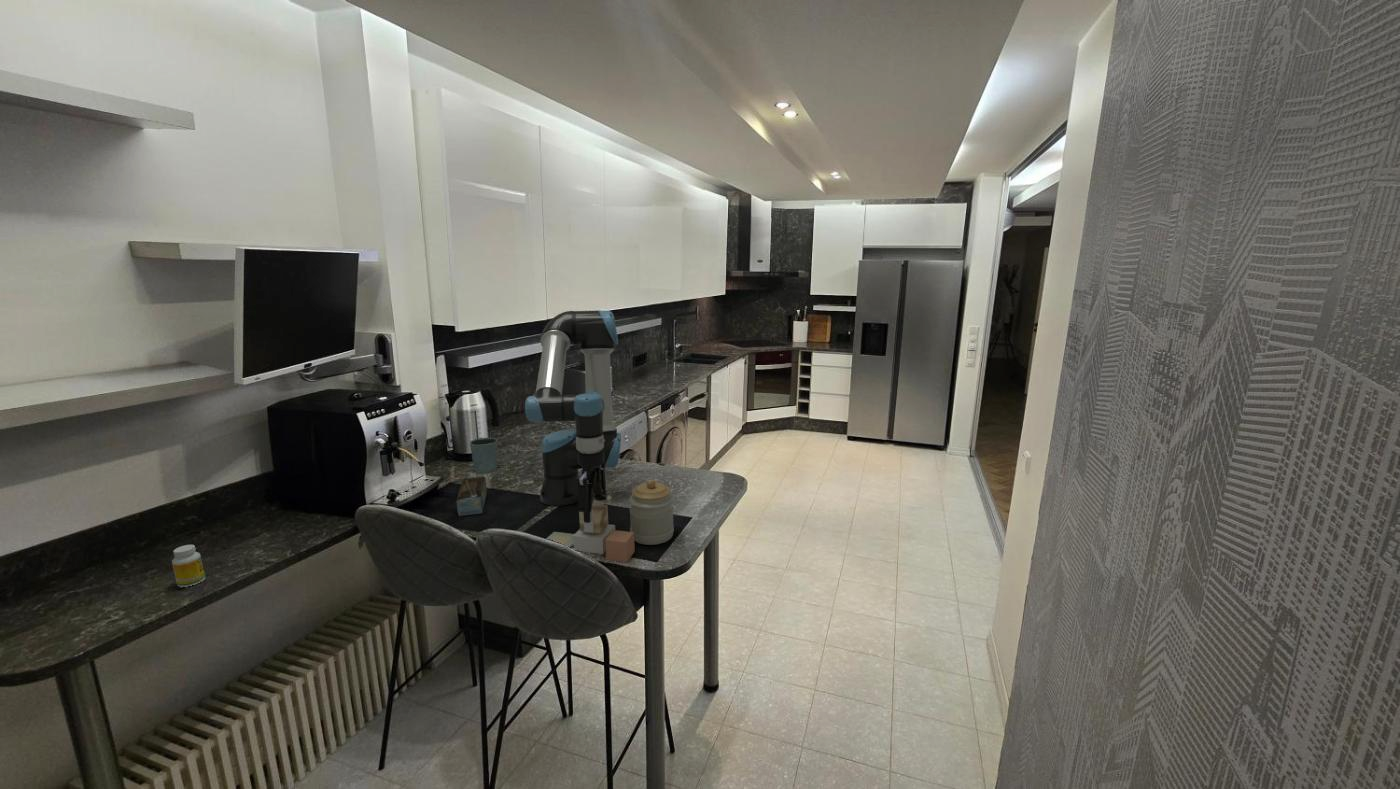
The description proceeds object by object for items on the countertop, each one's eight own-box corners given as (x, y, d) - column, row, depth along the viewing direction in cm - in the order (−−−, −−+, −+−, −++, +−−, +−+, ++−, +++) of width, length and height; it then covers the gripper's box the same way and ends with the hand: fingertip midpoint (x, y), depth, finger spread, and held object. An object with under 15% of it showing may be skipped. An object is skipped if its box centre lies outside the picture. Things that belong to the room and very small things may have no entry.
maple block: (599, 533, 155) (598, 513, 154) (580, 531, 156) (579, 511, 155) (608, 524, 161) (607, 504, 159) (589, 522, 162) (588, 503, 161)
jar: (621, 538, 163) (619, 482, 160) (647, 522, 174) (646, 469, 170) (657, 550, 157) (655, 491, 153) (682, 532, 168) (681, 477, 164)
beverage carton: (456, 517, 179) (454, 498, 177) (464, 494, 197) (462, 477, 195) (483, 514, 181) (481, 495, 179) (487, 492, 199) (486, 474, 197)
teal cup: (467, 472, 217) (464, 443, 215) (483, 464, 227) (481, 436, 224) (488, 475, 215) (486, 445, 212) (505, 466, 224) (502, 438, 221)
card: (538, 547, 158) (538, 545, 158) (554, 533, 167) (554, 531, 167) (567, 551, 156) (567, 549, 156) (581, 536, 165) (581, 534, 164)
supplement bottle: (176, 582, 141) (168, 548, 139) (204, 574, 145) (196, 540, 143) (178, 590, 138) (170, 555, 136) (207, 582, 142) (199, 547, 139)
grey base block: (573, 550, 157) (572, 535, 156) (587, 535, 165) (586, 522, 164) (603, 554, 155) (602, 539, 154) (615, 539, 163) (615, 525, 162)
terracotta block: (606, 559, 152) (605, 539, 150) (614, 549, 157) (614, 530, 156) (626, 562, 150) (625, 542, 149) (634, 551, 156) (634, 532, 155)
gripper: (588, 461, 144) (592, 543, 149) (616, 440, 162) (619, 514, 167) (561, 459, 145) (566, 540, 150) (592, 438, 163) (596, 511, 168)
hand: (594, 526), depth 159 cm, fingers closed on maple block, 6 cm apart
